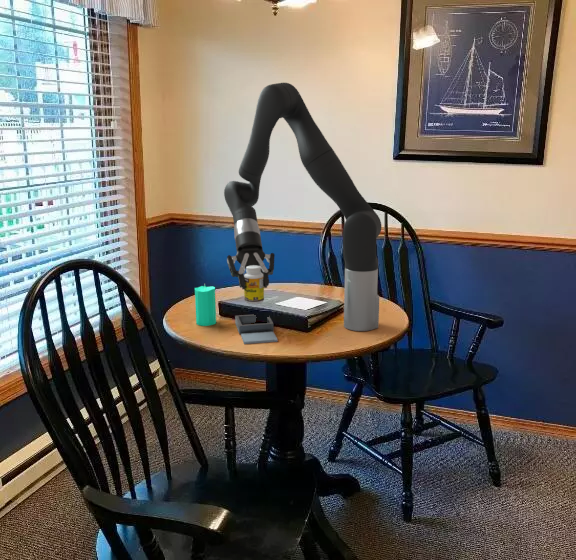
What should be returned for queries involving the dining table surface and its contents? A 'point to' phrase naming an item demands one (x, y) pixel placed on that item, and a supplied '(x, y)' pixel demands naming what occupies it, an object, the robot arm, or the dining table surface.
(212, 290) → the candle
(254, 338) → the slate mat
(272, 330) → the iron collar
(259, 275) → the supplement bottle
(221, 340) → the dining table surface
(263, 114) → the robot arm
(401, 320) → the dining table surface
